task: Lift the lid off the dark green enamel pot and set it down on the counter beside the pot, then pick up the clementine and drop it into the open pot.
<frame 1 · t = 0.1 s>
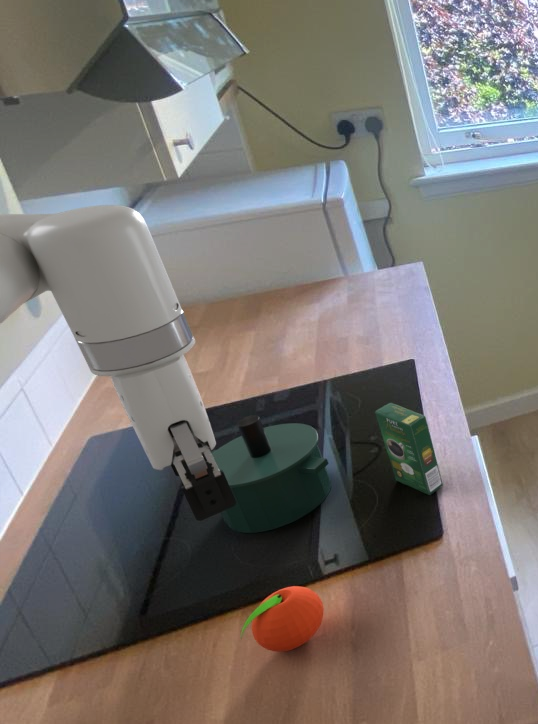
hand: (205, 489, 74), 25 cm above the worktop, tool pointing down, fingers open, 9 cm apart
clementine: (293, 643, 87), on the worktop
pot: (280, 500, 109), on the worktop
lid: (261, 455, 106), point 8 cm above the worktop, touching pot
coffee box: (420, 484, 112), on the worktop
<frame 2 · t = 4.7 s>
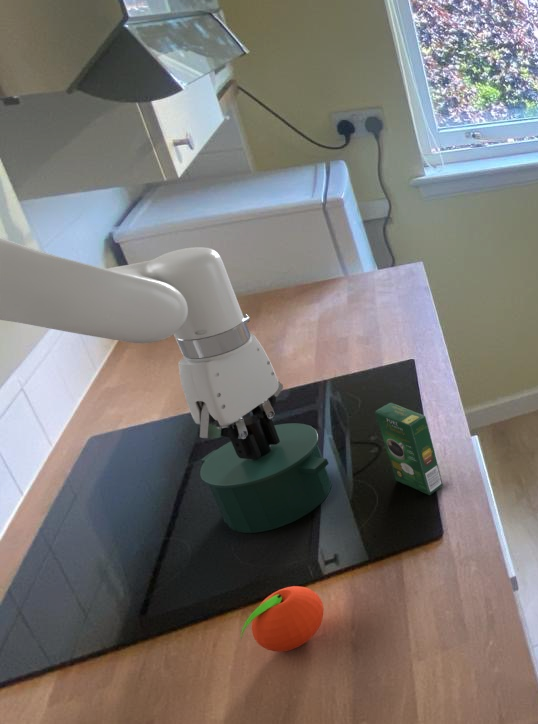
hand: (259, 449, 105), 9 cm above the worktop, tool pointing down, fingers closed on lid, 2 cm apart
lid: (262, 455, 106), point 8 cm above the worktop, touching gripper, pot
everything else where it was.
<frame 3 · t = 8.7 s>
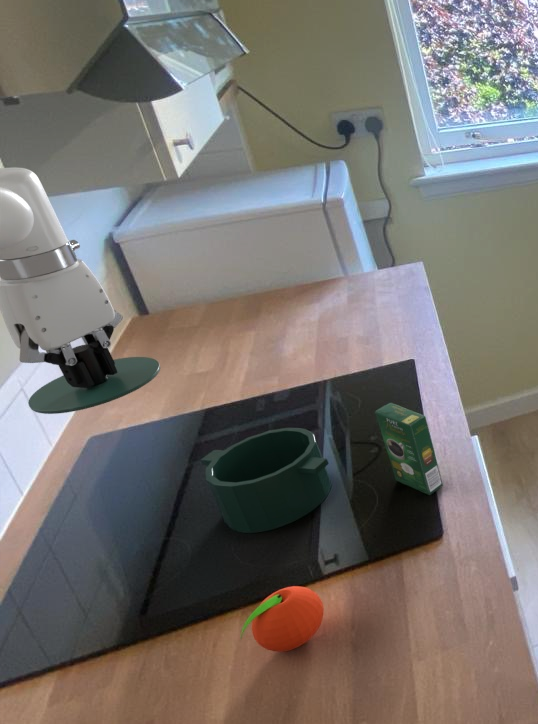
hand: (94, 379, 105), 20 cm above the worktop, tool pointing down, fingers closed on lid, 2 cm apart
lid: (97, 385, 105), point 19 cm above the worktop, touching gripper
everything else where it was.
when the fingers open (2 cm above the worktop, at t = 12.8 s): lid stays where it is, point 1 cm above the worktop.
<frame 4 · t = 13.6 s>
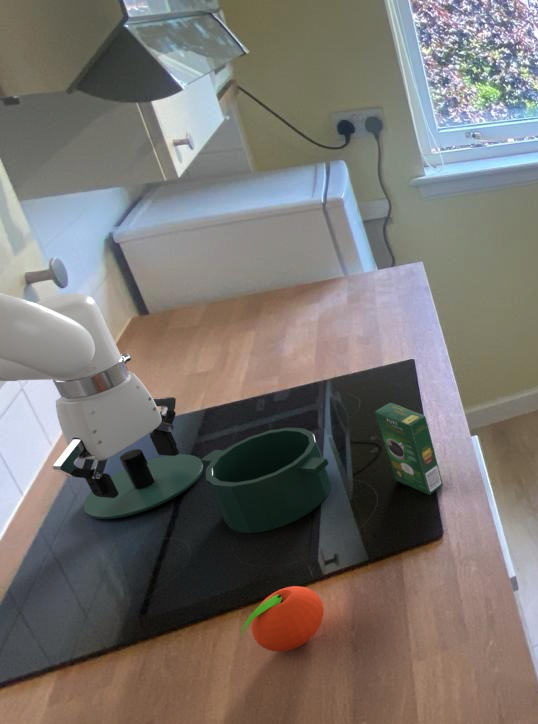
hand: (139, 474, 111), 3 cm above the worktop, tool pointing down, fingers open, 9 cm apart
lid: (146, 486, 112), point 1 cm above the worktop
everything else where it was.
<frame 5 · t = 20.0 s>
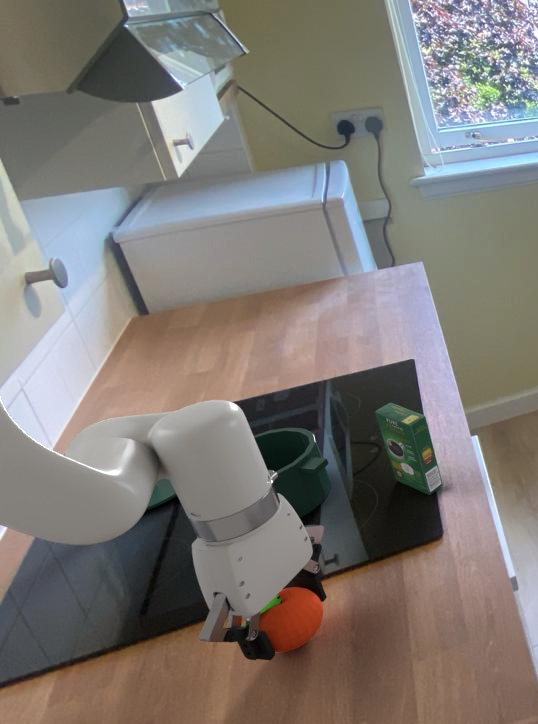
hand: (288, 626, 86), 2 cm above the worktop, tool pointing down, fingers closed on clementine, 7 cm apart
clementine: (292, 644, 87), on the worktop, touching gripper
everything else where it was.
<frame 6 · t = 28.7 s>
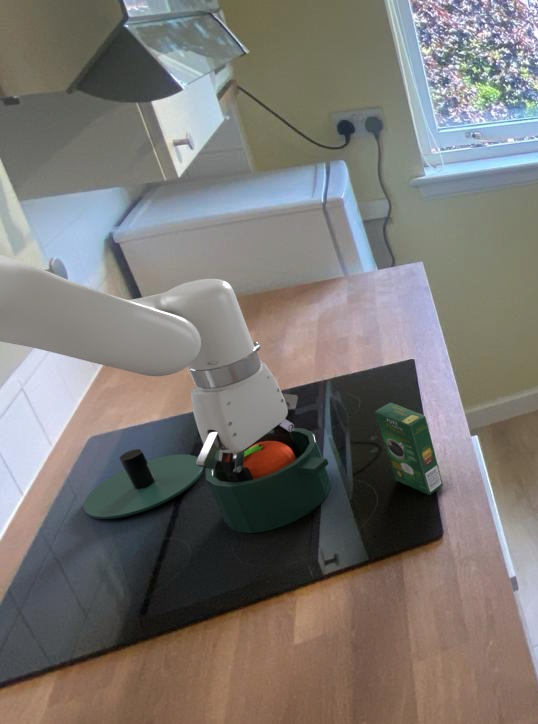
hand: (267, 471, 107), 6 cm above the worktop, tool pointing down, fingers closed on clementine, 7 cm apart
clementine: (271, 487, 108), point 3 cm above the worktop, touching gripper
everything else where it was.
when the fingers open (7 cm above the worktop, at t = 40.7 s): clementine drops 4 cm, resting on pot.
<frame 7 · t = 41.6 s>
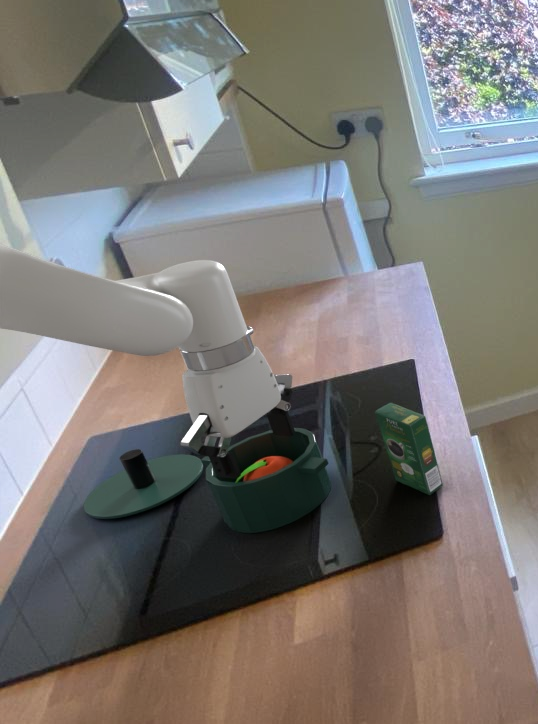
hand: (258, 454, 105), 9 cm above the worktop, tool pointing down, fingers open, 9 cm apart
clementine: (276, 501, 109), resting on pot
everything else where it was.
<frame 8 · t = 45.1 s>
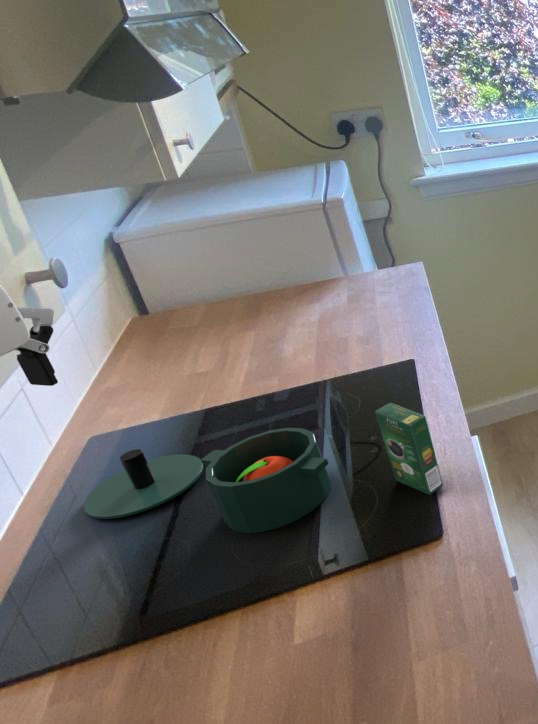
nothing on the worktop moved.
at the end: lid inside the target area (0.0 cm from its centre), point 0.6 cm above the worktop; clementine inside the target area in the pot (0.5 cm from its centre), point 0.3 cm above the pot's base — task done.
